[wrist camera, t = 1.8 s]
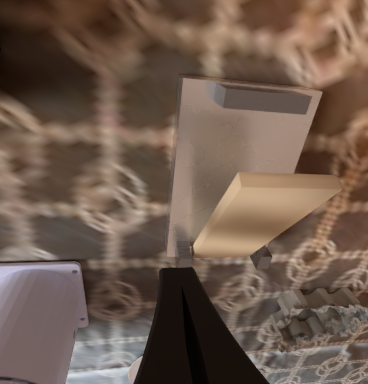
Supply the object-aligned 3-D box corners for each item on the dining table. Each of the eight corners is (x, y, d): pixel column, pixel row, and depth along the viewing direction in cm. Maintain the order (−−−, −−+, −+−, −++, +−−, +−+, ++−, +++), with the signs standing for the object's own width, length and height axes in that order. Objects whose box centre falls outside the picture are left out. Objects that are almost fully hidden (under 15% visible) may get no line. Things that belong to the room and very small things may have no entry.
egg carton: (261, 321, 33) (275, 354, 29) (283, 282, 29) (302, 315, 26) (330, 321, 35) (351, 351, 32) (359, 285, 31) (385, 315, 28)
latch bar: (246, 247, 22) (248, 256, 22) (191, 248, 21) (191, 257, 21) (336, 175, 12) (342, 189, 12) (238, 171, 11) (241, 187, 11)
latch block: (256, 239, 25) (274, 271, 21) (164, 241, 23) (168, 275, 20) (305, 87, 18) (344, 97, 14) (179, 74, 16) (188, 82, 13)
